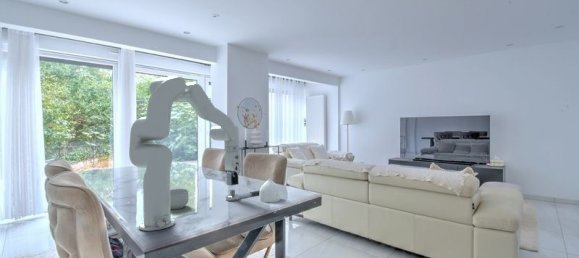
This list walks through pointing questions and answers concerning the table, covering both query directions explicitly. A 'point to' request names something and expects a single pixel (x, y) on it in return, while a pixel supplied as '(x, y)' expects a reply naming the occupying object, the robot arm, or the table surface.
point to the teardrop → (269, 192)
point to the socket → (230, 178)
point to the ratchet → (236, 197)
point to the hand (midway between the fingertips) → (232, 183)
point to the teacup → (178, 198)
